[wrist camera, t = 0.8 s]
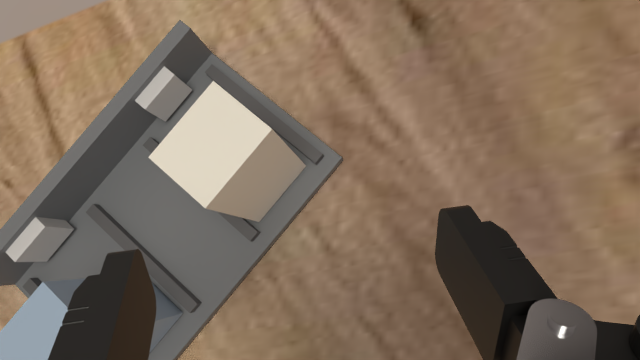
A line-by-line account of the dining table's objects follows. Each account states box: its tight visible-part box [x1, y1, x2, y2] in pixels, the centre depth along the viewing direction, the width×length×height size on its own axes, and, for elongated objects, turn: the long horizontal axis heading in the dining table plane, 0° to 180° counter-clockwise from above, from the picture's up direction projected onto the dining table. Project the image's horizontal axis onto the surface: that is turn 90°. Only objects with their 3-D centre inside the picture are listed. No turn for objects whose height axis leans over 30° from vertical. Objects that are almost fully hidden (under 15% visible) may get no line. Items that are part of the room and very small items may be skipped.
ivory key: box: [148, 81, 306, 222], centre depth 29 cm, size 5×4×10 cm
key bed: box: [0, 20, 343, 360], centre depth 33 cm, size 22×14×5 cm, turn 140°
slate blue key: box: [0, 278, 183, 360], centre depth 28 cm, size 5×4×10 cm
